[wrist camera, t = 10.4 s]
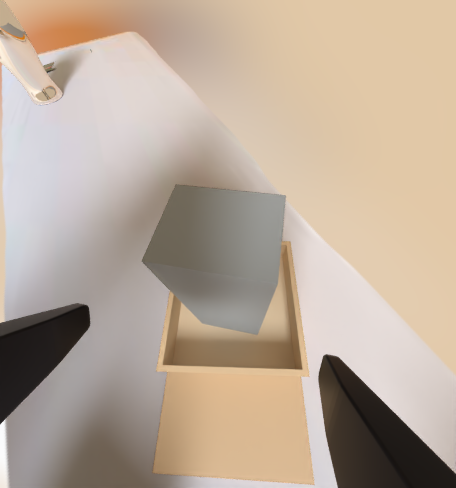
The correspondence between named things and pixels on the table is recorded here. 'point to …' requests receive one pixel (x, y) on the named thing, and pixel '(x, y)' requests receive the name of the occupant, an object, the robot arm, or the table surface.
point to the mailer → (236, 393)
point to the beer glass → (24, 60)
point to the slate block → (220, 253)
